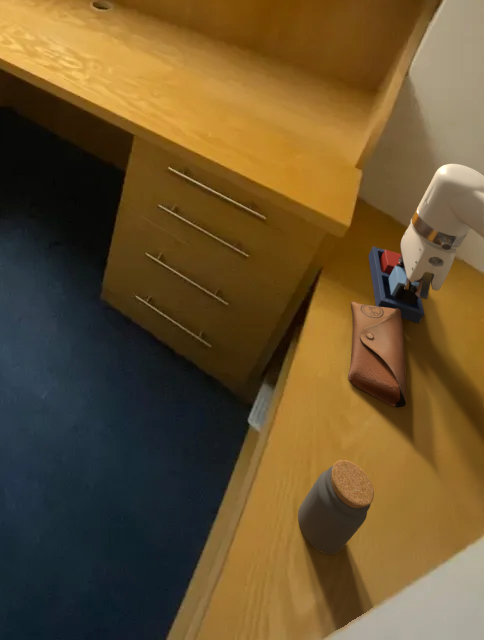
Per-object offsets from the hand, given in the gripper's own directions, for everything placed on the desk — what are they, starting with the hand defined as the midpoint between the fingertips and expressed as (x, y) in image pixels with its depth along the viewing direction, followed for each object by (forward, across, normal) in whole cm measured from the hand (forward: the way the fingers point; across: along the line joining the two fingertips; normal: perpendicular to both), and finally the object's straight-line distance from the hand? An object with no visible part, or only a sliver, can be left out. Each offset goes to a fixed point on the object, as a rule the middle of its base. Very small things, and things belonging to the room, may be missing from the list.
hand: (402, 289), depth 99 cm
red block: (+3, +6, 0) cm, 7 cm away
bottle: (+4, -44, +15) cm, 46 cm away
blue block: (0, 0, 0) cm, 0 cm away
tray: (+4, +3, 0) cm, 5 cm away
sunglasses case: (+4, -13, +5) cm, 14 cm away
